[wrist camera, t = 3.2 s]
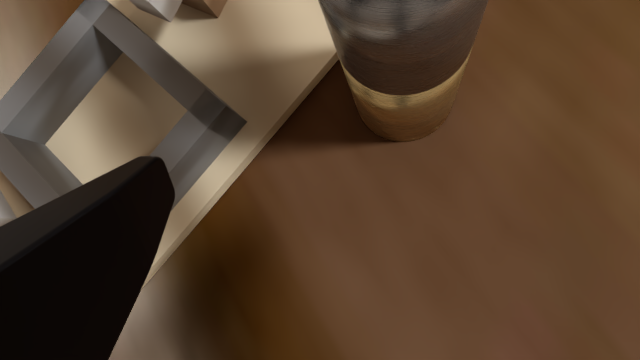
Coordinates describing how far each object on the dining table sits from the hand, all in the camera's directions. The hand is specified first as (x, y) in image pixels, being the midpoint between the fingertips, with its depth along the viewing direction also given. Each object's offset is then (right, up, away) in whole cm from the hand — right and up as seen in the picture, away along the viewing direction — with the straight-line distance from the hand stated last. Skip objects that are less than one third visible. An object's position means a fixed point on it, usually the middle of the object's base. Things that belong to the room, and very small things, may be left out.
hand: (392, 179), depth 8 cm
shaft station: (-11, +2, +15) cm, 18 cm away
